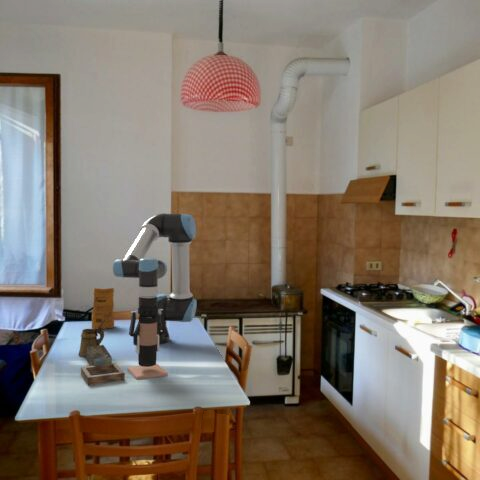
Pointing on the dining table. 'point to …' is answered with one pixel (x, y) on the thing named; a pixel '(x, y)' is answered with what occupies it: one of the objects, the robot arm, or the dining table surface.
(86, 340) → the wooden mug
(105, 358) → the beverage carton
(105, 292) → the coffee package
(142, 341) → the travel mug
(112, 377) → the collar
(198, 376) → the dining table surface
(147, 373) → the coaster tile
